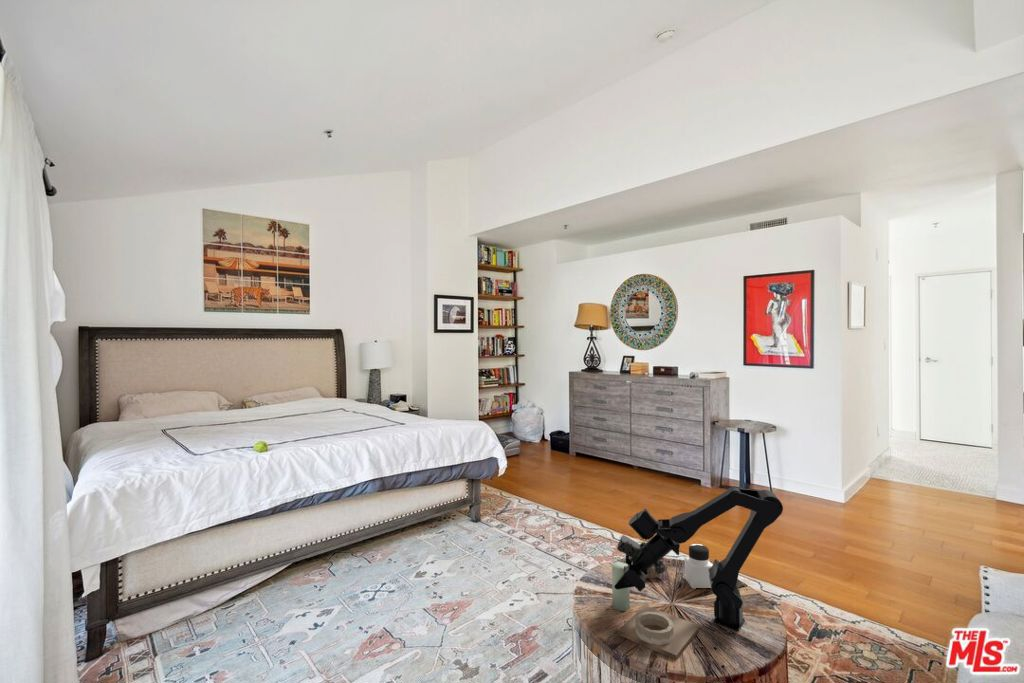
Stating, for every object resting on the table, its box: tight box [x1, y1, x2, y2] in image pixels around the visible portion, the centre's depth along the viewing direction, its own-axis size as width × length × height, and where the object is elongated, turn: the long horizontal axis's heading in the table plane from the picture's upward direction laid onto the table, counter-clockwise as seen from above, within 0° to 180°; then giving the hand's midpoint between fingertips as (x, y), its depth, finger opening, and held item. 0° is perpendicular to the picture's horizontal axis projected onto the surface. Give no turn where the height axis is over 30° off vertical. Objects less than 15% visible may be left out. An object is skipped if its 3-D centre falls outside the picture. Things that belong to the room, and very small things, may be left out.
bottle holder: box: [617, 604, 701, 661], centre depth 129 cm, size 16×16×4 cm
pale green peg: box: [611, 561, 631, 612], centre depth 142 cm, size 5×5×12 cm
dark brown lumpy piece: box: [641, 560, 668, 580], centre depth 159 cm, size 12×7×10 cm
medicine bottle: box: [684, 543, 713, 590], centre depth 154 cm, size 7×7×12 cm
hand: (616, 583), depth 142 cm, fingers closed on pale green peg, 5 cm apart
